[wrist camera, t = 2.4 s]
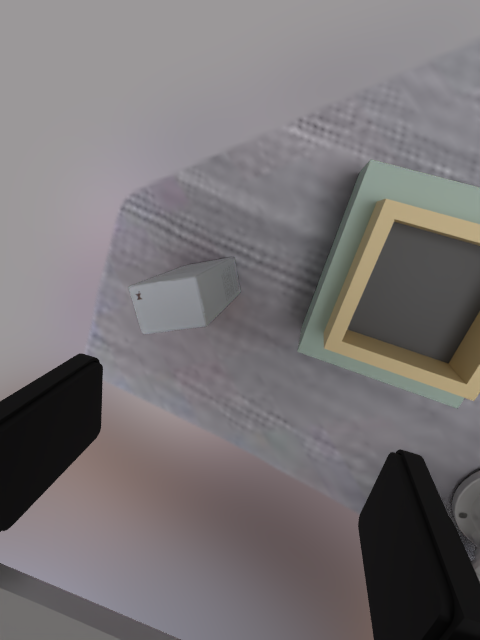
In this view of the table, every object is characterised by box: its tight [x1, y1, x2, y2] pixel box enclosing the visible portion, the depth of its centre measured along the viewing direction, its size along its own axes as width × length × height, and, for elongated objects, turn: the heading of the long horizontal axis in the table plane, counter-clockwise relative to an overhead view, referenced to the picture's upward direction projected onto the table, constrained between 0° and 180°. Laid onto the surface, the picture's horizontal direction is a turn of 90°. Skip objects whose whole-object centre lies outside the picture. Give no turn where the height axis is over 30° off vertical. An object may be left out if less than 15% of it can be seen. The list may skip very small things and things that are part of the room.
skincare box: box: [128, 257, 241, 334], centre depth 30 cm, size 6×4×12 cm
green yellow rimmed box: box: [297, 160, 480, 409], centre depth 26 cm, size 16×14×10 cm
